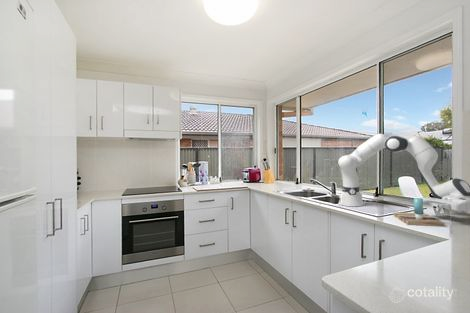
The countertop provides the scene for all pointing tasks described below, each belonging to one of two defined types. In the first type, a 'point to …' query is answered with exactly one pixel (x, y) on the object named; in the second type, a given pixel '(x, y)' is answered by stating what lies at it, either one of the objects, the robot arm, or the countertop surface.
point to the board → (410, 219)
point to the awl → (418, 208)
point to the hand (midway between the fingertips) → (430, 204)
